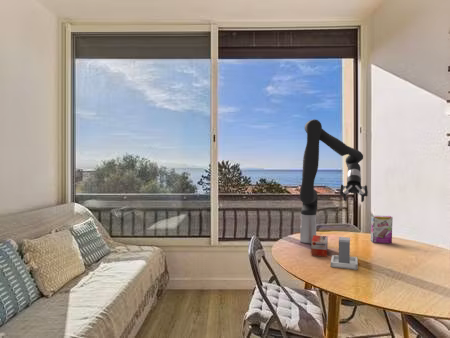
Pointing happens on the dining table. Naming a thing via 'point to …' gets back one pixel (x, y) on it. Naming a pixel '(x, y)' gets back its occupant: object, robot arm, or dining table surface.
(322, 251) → the medicine box
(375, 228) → the candy bar box
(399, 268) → the dining table surface
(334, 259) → the tray
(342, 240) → the tall grey carton
